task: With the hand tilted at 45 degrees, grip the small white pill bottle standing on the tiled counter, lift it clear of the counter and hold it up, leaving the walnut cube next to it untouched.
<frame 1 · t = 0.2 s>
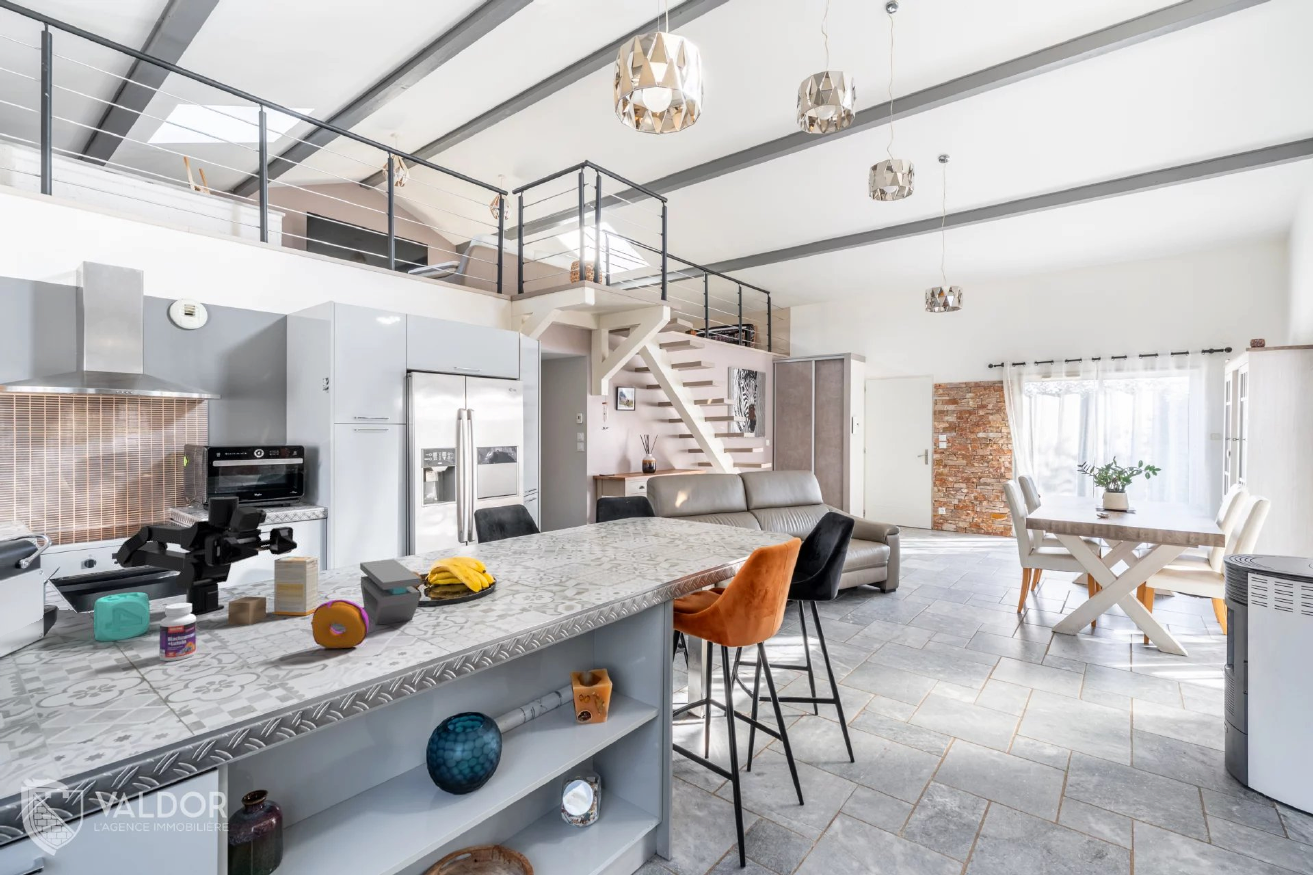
hand: (277, 549, 134), 17 cm above the countertop, tool horizontal, fingers open, 9 cm apart
donut: (339, 650, 118), on the countertop
pill bottle: (177, 657, 113), on the countertop
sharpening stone: (388, 616, 140), on the countertop
decorative dice: (121, 636, 125), on the countertop
supplement box: (296, 613, 142), on the countertop
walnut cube: (247, 621, 135), on the countertop
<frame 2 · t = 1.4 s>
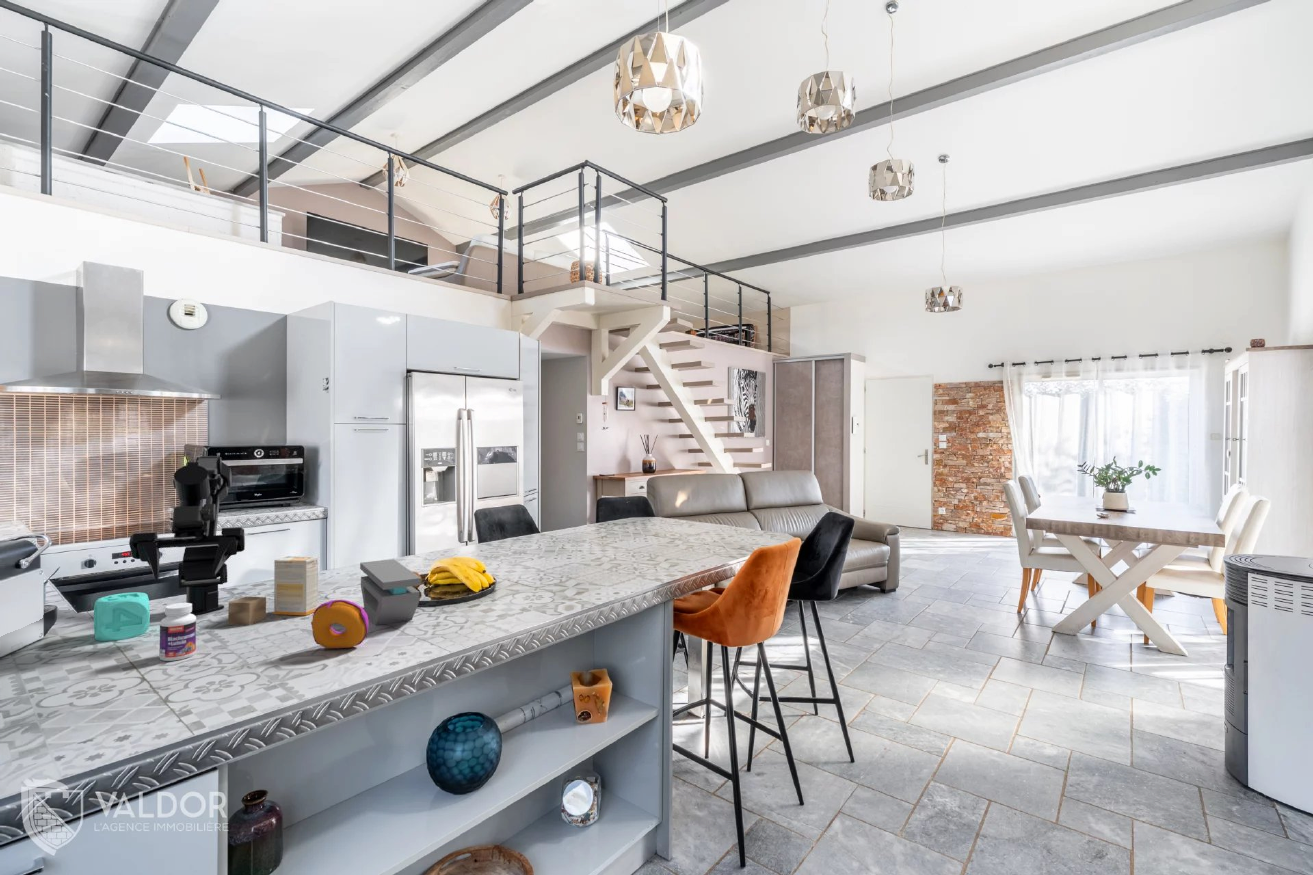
hand: (185, 576, 120), 14 cm above the countertop, tool tilted 45°, fingers open, 9 cm apart
nothing on the countertop moved.
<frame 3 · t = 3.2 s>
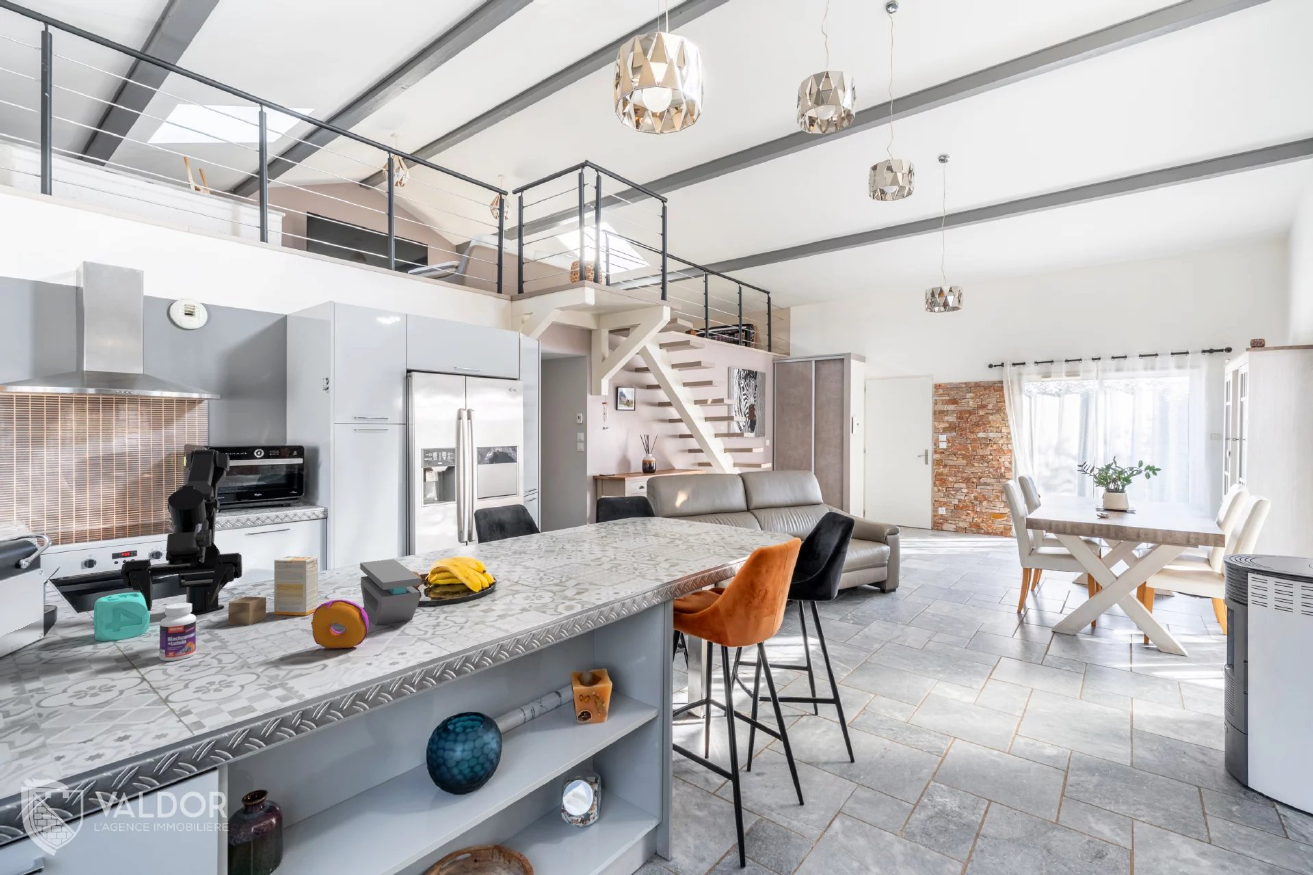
hand: (179, 606, 114), 9 cm above the countertop, tool tilted 45°, fingers open, 9 cm apart
nothing on the countertop moved.
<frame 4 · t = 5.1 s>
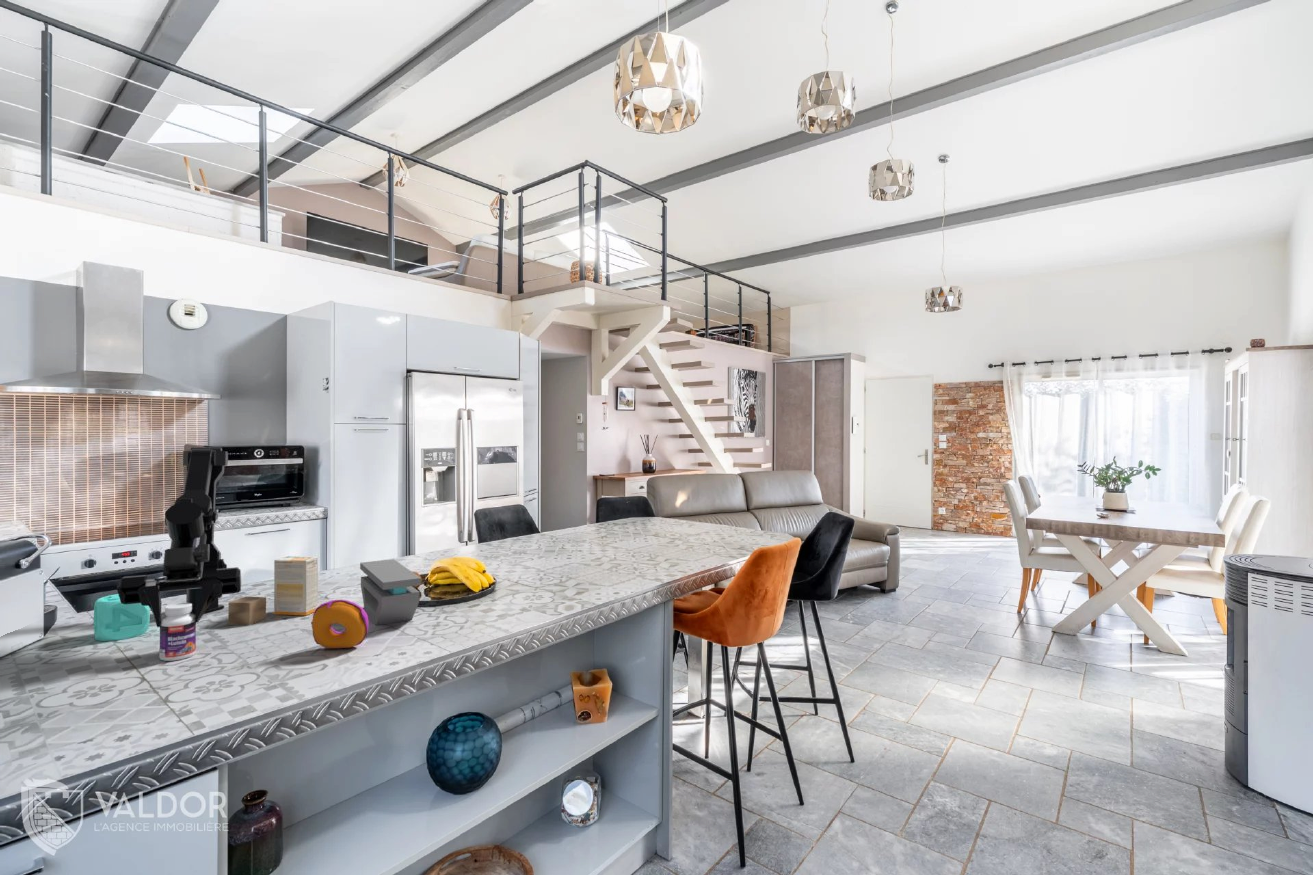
hand: (177, 623, 112), 7 cm above the countertop, tool tilted 45°, fingers closed on pill bottle, 5 cm apart
pill bottle: (177, 657, 113), on the countertop, touching gripper
everything else where it was.
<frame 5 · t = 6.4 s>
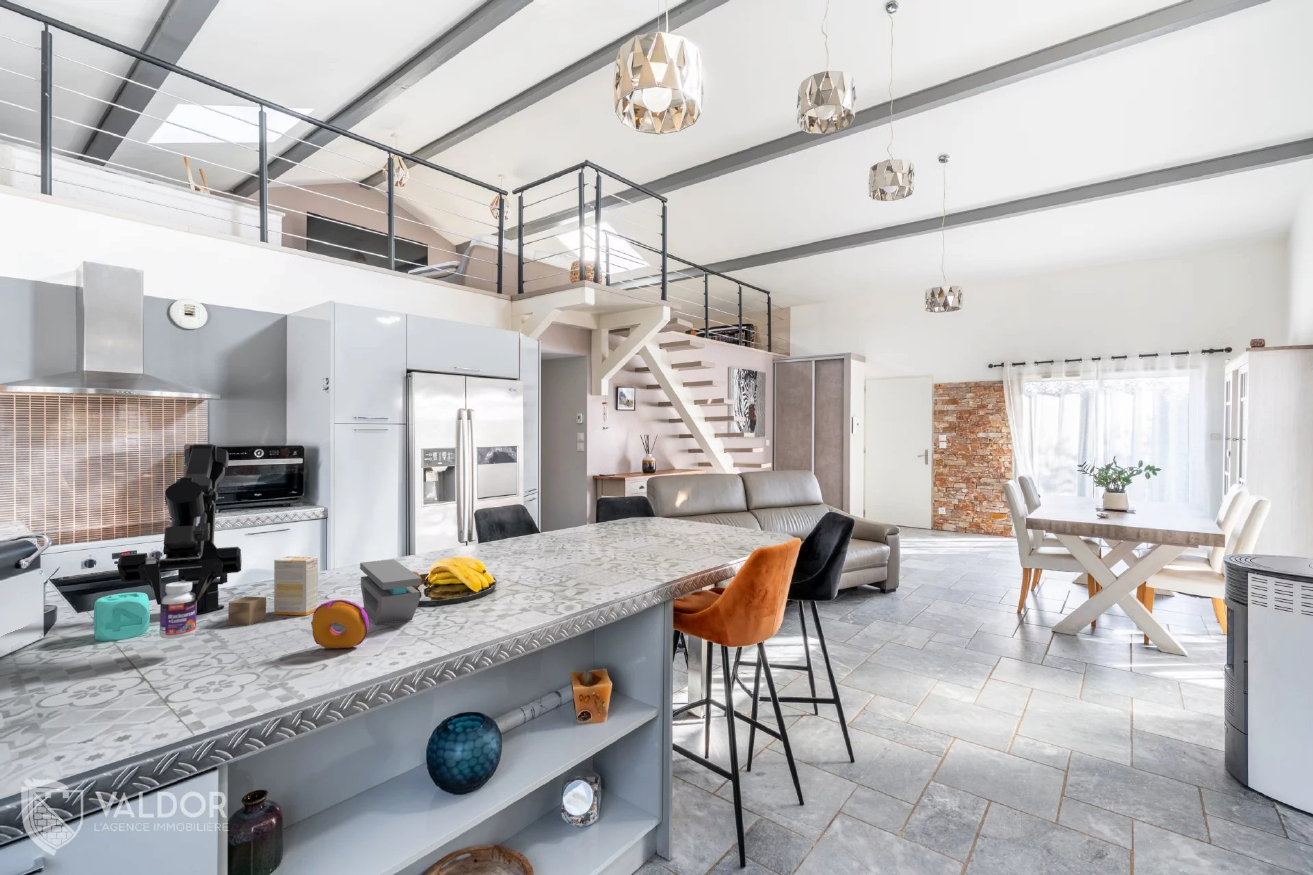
hand: (177, 601, 112), 11 cm above the countertop, tool tilted 45°, fingers closed on pill bottle, 5 cm apart
pill bottle: (178, 635, 113), point 4 cm above the countertop, touching gripper
everything else where it was.
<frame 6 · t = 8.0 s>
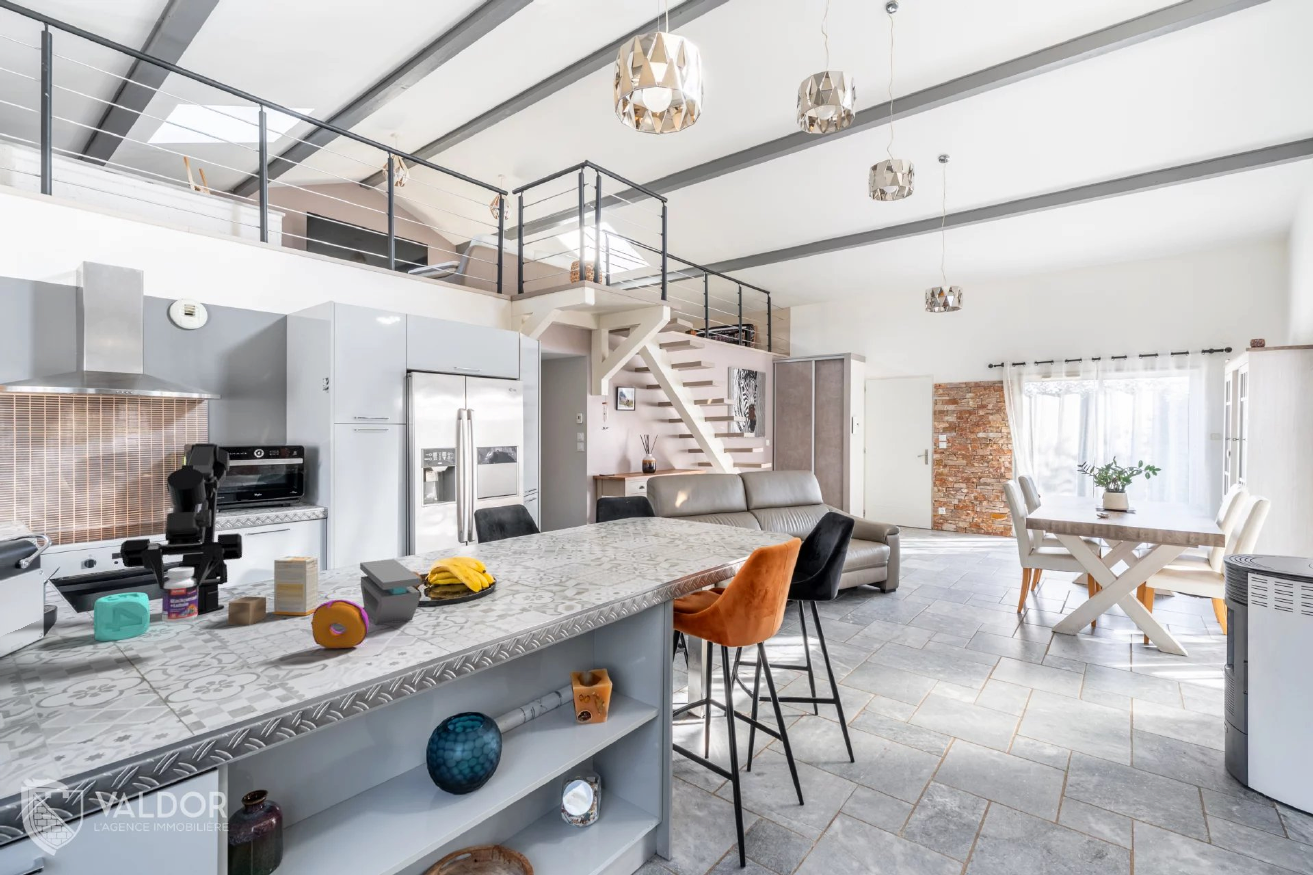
hand: (179, 586, 114), 13 cm above the countertop, tool tilted 45°, fingers closed on pill bottle, 5 cm apart
pill bottle: (180, 619, 115), point 6 cm above the countertop, touching gripper
everything else where it was.
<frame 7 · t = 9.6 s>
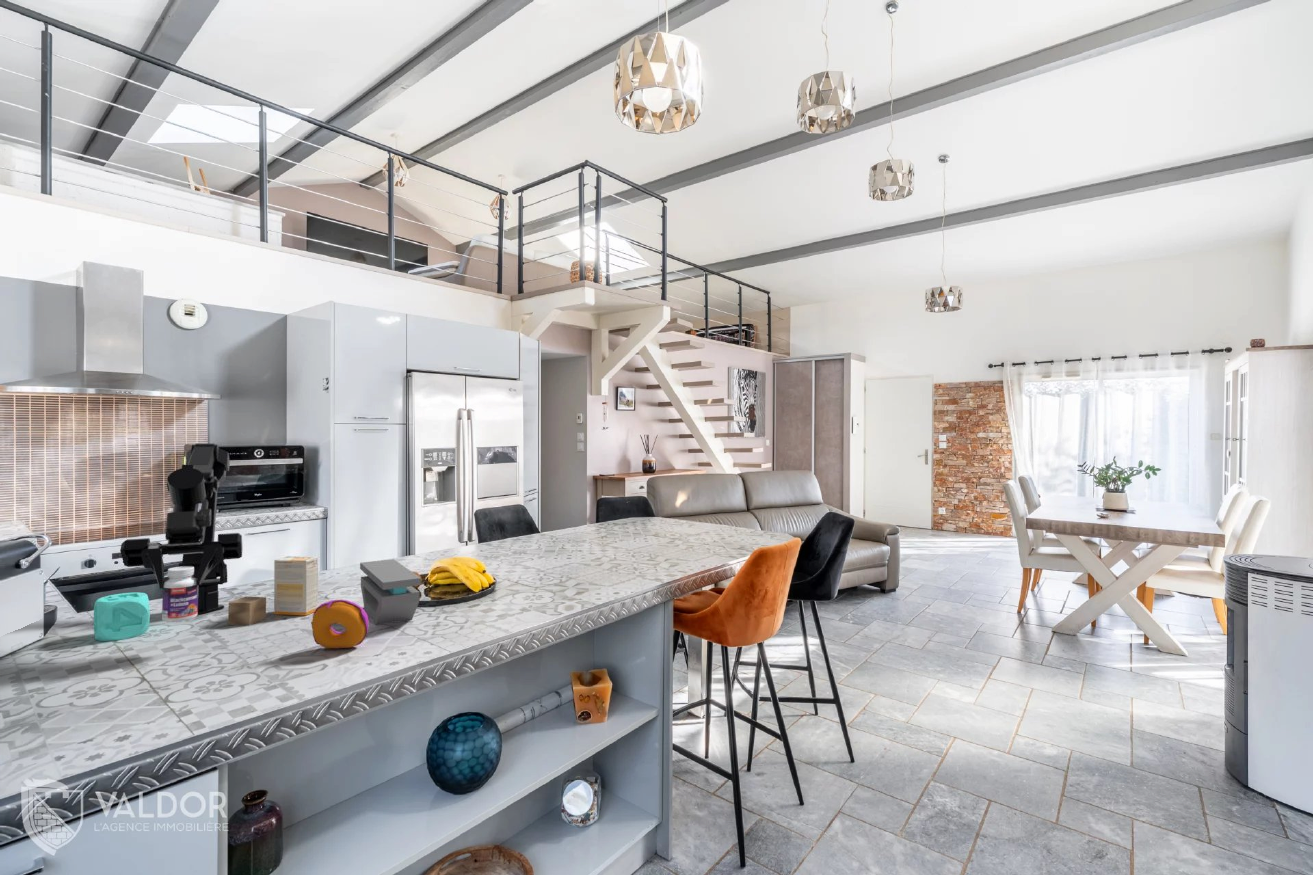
hand: (179, 585, 114), 13 cm above the countertop, tool tilted 45°, fingers closed on pill bottle, 5 cm apart
pill bottle: (180, 619, 115), point 6 cm above the countertop, touching gripper
everything else where it was.
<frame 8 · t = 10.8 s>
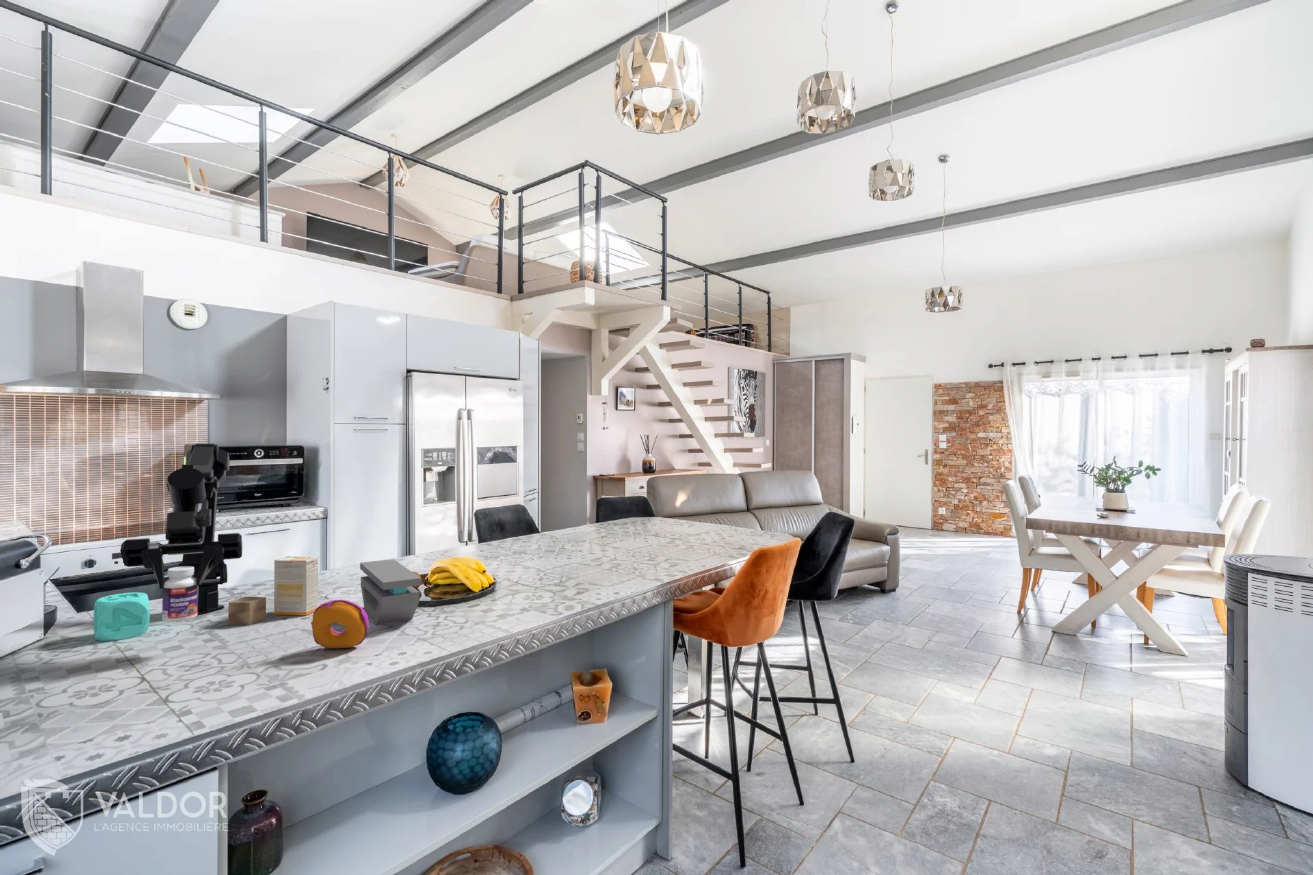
hand: (179, 585, 114), 13 cm above the countertop, tool tilted 45°, fingers closed on pill bottle, 5 cm apart
pill bottle: (180, 619, 115), point 6 cm above the countertop, touching gripper
everything else where it was.
at the end: the gripper is holding pill bottle; pill bottle point 6.4 cm above the countertop; pill bottle touching gripper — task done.
